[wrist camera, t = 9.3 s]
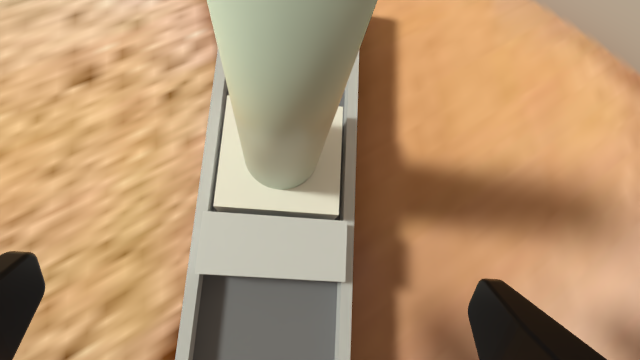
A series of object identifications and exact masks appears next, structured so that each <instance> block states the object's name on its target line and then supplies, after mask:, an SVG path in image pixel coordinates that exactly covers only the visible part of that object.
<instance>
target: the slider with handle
mask: <svg viewBox="0 0 640 360" xmlns="http://www.w3.org/2000/svg"><path fill="white" fill-rule="evenodd" d="M207 3H208V7H209V11H210V15H211V20H212V24H213V28H214V32H215V37H216V41H217V45H218V49H219V54H220V58H221V62H222V66H223V70H224V75H225V79H226V83H227V87H228V92H229V95H227V101H226V109H225V117H224V125H223V133H222V141H221V149H220V157H219V165H218V173H217V181H216V188H215V196H214V204H213V206H214V207H215V209H216V210H217V211H218V212H226V213H240V214H254V215H268V216H283V217H297V218H311V219H325V220H334V219H335V218H336V217H337V216H338V215H339V195H340V170H341V145H342V120H343V107H341V106H339V103H340V101H341V98H342V95H343V93H344V90H345V87H346V84H347V82H348V79H349V76H350V73H351V71H352V68H353V65H354V63H355V60H356V57H357V54H358V52H359V49H360V46H361V44H362V41H363V38H364V35H365V33H366V30H367V27H368V24H369V22H370V19H371V16H372V14H373V11H374V8H375V5H376V3H377V0H207Z"/></svg>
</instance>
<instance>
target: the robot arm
mask: <svg viewBox="0 0 640 360" xmlns="http://www.w3.org/2000/svg"><path fill="white" fill-rule="evenodd" d="M44 291H45V282H44V279H43V275H42V272H41V269H40V266H39V263H38V259H37V257H36V256H35V255H34V254H33V253H31V252H18V251H10V252H6V253H4V254H2V255H0V360H12V359H13V357H14V355H15V353H16V351H17V349H18V347H19V345H20V343H21V341H22V339H23V337H24V335H25V333H26V330H27V328H28V326H29V324H30V322H31V320H32V318H33V316H34V314H35V312H36V310H37V308H38V306H39V304H40V301H41V299H42V297H43V295H44ZM468 317H469V321H470V325H471V329H472V333H473V337H474V341H475V345H476V348H477V352H478V356H479V360H607V359H606V358H604V357H603V356H602V355H600V354H599V353H598V352H596V351H595V350H594V349H592V348H591V347H590V346H588V345H587V344H586V343H584V342H583V341H582V340H580V339H579V338H578V337H576V336H575V335H574V334H572V333H571V332H570V331H568V330H567V329H566V328H564V327H563V326H562V325H560V324H559V323H558V322H556V321H555V320H554V319H552V318H551V317H550V316H548V315H547V314H546V313H545V312H543V311H542V310H541V309H539V308H538V307H537V306H535V305H534V304H533V303H531V302H530V301H529V300H527V299H526V298H525V297H523V296H522V295H521V294H519V293H518V292H517V291H515V290H514V289H513V288H511V287H510V286H509V285H507V284H506V283H505V282H503V281H502V280H498V279H482V280H480V281H479V283H478V284H477V287H476V289H475V291H474V294H473V296H472V298H471V301H470V303H469V306H468Z"/></svg>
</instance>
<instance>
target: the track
mask: <svg viewBox="0 0 640 360" xmlns="http://www.w3.org/2000/svg"><path fill="white" fill-rule="evenodd" d="M358 78H359V52H358V54H357V57H356V60H355V63H354V65H353V68H352V71H351V73H350V76H349V79H348V82H347V84H346V87H345V90H344V93H343V95H342V98H341V101H340V103H339V106H341V107H343V120H342V145H341V170H340V195H339V215H338V216H337V217H336V218H335V219H334V220H325V219H311V218H297V217H283V216H268V215H254V214H240V213H226V212H218V211H217V210H216V209H215V207H214V206H213V204H214V196H215V188H216V181H217V173H218V165H219V157H220V149H221V141H222V133H223V125H224V117H225V109H226V101H227V95H229V92H228V87H227V83H226V79H225V75H224V70H223V66H222V62H221V58H220V54H219V49H218V53H217V60H216V67H215V74H214V82H213V89H212V96H211V103H210V111H209V118H208V125H207V132H206V140H205V147H204V154H203V161H202V169H201V176H200V183H199V190H198V197H197V205H196V212H195V219H194V226H193V234H192V241H191V248H190V255H189V263H188V270H187V277H186V284H185V292H184V299H183V306H182V313H181V321H180V328H179V335H178V342H177V350H176V357H175V360H350V354H351V320H352V285H353V251H354V216H355V181H356V147H357V112H358Z"/></svg>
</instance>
